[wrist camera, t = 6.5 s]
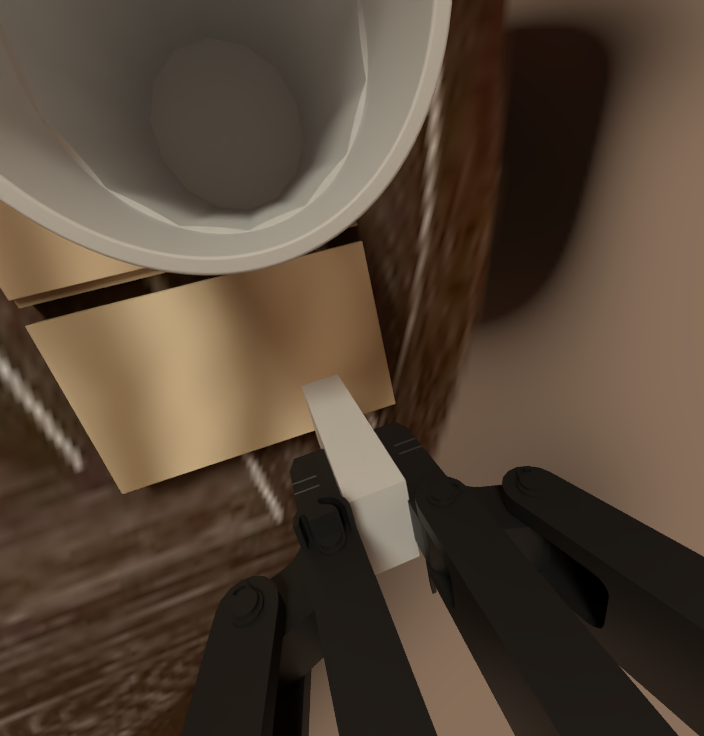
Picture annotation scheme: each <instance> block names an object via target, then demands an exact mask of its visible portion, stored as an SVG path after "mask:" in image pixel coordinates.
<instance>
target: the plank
mask: <svg viewBox="0 0 704 736" xmlns="http://www.w3.org/2000/svg"><path fill="white" fill-rule="evenodd" d="M25 327H26V329H27V330H28V332H29V334H30V335H31V337H32V339H33V341H34V342H35V344H36V346H37V348H38V349H39V351H40V353H41V354H42V356H43V358H44V360H45V361H46V363H47V365H48V367H49V368H50V370H51V372H52V373H53V375H54V377H55V379H56V380H57V382H58V384H59V386H60V387H61V389H62V391H63V392H64V394H65V396H66V398H67V399H68V401H69V403H70V404H71V406H72V408H73V410H74V411H75V413H76V415H77V417H78V418H79V420H80V422H81V423H82V425H83V427H84V429H85V430H86V432H87V434H88V436H89V437H90V439H91V441H92V442H93V444H94V446H95V448H96V449H97V451H98V453H99V455H100V456H101V458H102V460H103V461H104V463H105V465H106V467H107V468H108V470H109V472H110V474H111V475H112V477H113V479H114V480H115V482H116V484H117V486H118V487H119V489H120V491H121V492H122V494H124V493H127V492H130V491H133V490H136V489H139V488H142V487H145V486H148V485H151V484H154V483H157V482H160V481H163V480H166V479H169V478H172V477H175V476H178V475H181V474H184V473H188V472H191V471H194V470H197V469H200V468H203V467H206V466H209V465H212V464H215V463H218V462H221V461H224V460H227V459H230V458H233V457H236V456H239V455H242V454H245V453H248V452H251V451H254V450H257V449H260V448H263V447H266V446H269V445H272V444H275V443H278V442H281V441H284V440H287V439H290V438H293V437H296V436H299V435H302V434H305V433H308V432H311V431H315V429H314V425H313V422H312V419H311V416H310V412H309V409H308V406H307V402H306V399H305V396H304V393H303V389H302V385H305V384H308V383H312V382H315V381H318V380H321V379H324V378H327V377H330V376H333V375H337V374H338V376H339V377H340V379H341V380H342V382H343V384H344V385H345V387H346V388H347V390H348V391H349V393H350V394H351V396H352V398H353V399H354V401H355V402H356V404H357V405H358V407H359V408H360V410H361V412H362V413H363V414H366V413H369V412H372V411H375V410H378V409H381V408H384V407H387V406H390V405H393V404H395V399H394V394H393V390H392V385H391V380H390V375H389V370H388V365H387V360H386V355H385V350H384V346H383V341H382V336H381V331H380V326H379V321H378V316H377V311H376V307H375V302H374V297H373V292H372V287H371V282H370V277H369V272H368V268H367V263H366V258H365V253H364V248H363V243H362V241H359V242H353V243H349V244H345V245H341V246H337V247H333V248H329V249H325V250H321V251H317V252H313V253H309V254H305V255H303V256H301V257H299V258H296V259H294V260H291V261H289V262H286V263H283V264H280V265H277V266H273V267H270V268H266V269H262V270H257V271H252V272H246V273H239V274H230V275H222V276H218V277H214V278H210V279H206V280H202V281H198V282H194V283H190V284H186V285H182V286H178V287H174V288H170V289H166V290H162V291H158V292H154V293H150V294H146V295H142V296H138V297H134V298H130V299H126V300H122V301H119V302H115V303H111V304H107V305H103V306H99V307H95V308H91V309H87V310H83V311H79V312H75V313H71V314H67V315H63V316H59V317H55V318H51V319H47V320H43V321H40V322H37V323H33V324H30V325H27V326H25Z"/></svg>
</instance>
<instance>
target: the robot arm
mask: <svg viewBox="0 0 704 736" xmlns="http://www.w3.org/2000/svg"><path fill="white" fill-rule="evenodd" d="M302 389H303V393H304V396H305V399H306V402H307V406H308V409H309V412H310V416H311V419H312V422H313V425H314V429H315V432H316V435H317V438H318V442H319V444H320V447H321V450H318V451H315V452H313V453H310V454H307V455H304V456H301V457H298V458H296V459H294V461H293V464H292V467H291V470H290V475H291V479H292V484H293V489H294V494H295V499H296V504H297V509H298V511H297V513H296V514H295V516H294V523H293V528H294V530H295V533H296V535H297V538H298V541H299V543H300V546H301V548H300V550H299V552H298V554H297V556H296V557H295V558H294V560H293V561H292V562H291V563H290V564H289V565H288V566H287V567H286V568H285V569H283V570H282V571H281V572H279V573H278V574H277V575H276V576H274V577H273V578H272V579H268V578H267V577H265V576H252V577H249V578H247V579H244V580H241V581H240V582H239V583H237V584H236V585H235V586H233V587H232V588H231V589H230V590H229V591H228V592H227V593H226V595H225V596H224V597H223V598H222V600H221V602H220V604H219V606H218V608H217V611H216V613H215V616H214V620H213V623H212V627H211V630H210V634H209V638H208V641H207V645H206V648H205V652H204V655H203V659H202V663H201V666H200V670H199V673H198V677H197V680H196V684H195V688H194V691H193V695H192V698H191V702H190V705H189V709H188V712H187V716H186V720H185V723H184V727H183V730H182V734H181V736H309V713H310V689H311V688H310V687H311V669H312V668H313V667H314V666H315V665H316V664H317V663H318V662H319V661H320V660H321V659H322V658H323V657H324V661H325V666H326V671H327V676H328V681H329V686H330V691H331V696H332V701H333V706H334V711H335V717H336V722H337V726H338V732H339V736H437V734H436V731H435V728H434V726H433V723H432V721H431V719H430V716H429V713H428V710H427V708H426V705H425V703H424V700H423V697H422V695H421V693H420V690H419V687H418V685H417V682H416V679H415V677H414V674H413V672H412V669H411V666H410V664H409V661H408V659H407V656H406V654H405V651H404V649H403V646H402V643H401V641H400V638H399V636H398V633H397V630H396V628H395V625H394V623H393V620H392V617H391V615H390V612H389V610H388V607H387V605H386V602H385V599H384V597H383V595H382V592H381V589H380V587H379V584H378V581H377V579H376V576H375V575H377V574H379V573H382V572H384V571H386V570H389V569H391V568H393V567H395V566H398V565H400V564H402V563H405V562H407V561H409V560H412V559H414V558H416V557H419V550H418V546H419V548H420V550H421V551H422V553H423V555H424V557H425V559H426V564H427V570H428V576H429V581H430V586H431V589H432V593H433V594H434V593H436V588H437V590H438V592H439V594H440V596H441V598H442V599H443V601H444V603H445V605H446V607H447V609H448V611H449V613H450V614H451V616H452V618H453V620H454V622H455V624H456V626H457V627H458V630H459V631H460V633H461V635H462V637H463V639H464V641H465V643H466V644H467V646H468V648H469V650H470V652H471V654H472V656H473V658H474V659H475V661H476V663H477V665H478V667H479V669H480V671H481V673H482V674H483V676H484V678H485V680H486V682H487V684H488V686H489V688H490V689H491V691H492V693H493V695H494V697H495V699H496V701H497V703H498V704H499V706H500V708H501V710H502V712H503V714H504V716H505V718H506V719H507V721H508V723H509V725H510V727H511V729H512V731H513V732H514V734H515V736H678V735H677V733H676V732H675V731H674V730H673V729H672V728H671V726H670V725H669V724H668V723H667V722H666V721H665V719H664V718H663V717H662V716H661V715H660V714H659V712H658V711H657V710H656V709H655V708H654V706H653V705H652V704H651V703H650V702H649V701H648V699H647V698H646V697H645V696H644V695H643V694H642V692H641V691H640V690H639V689H638V688H637V687H636V685H635V684H634V683H633V682H632V681H631V679H630V678H629V677H628V676H627V675H626V674H625V672H624V671H623V670H622V669H621V668H623V669H624V670H625V671H626V672H627V673H628V674H629V675H631V676H632V677H633V678H634V679H635V680H636V681H637V682H639V683H640V684H641V685H642V686H643V687H644V688H645V689H647V690H648V691H649V692H650V693H651V694H652V695H653V696H655V697H656V698H657V699H658V700H659V701H660V702H661V703H663V704H664V705H665V706H666V707H667V708H668V709H669V710H671V711H672V712H673V713H674V714H675V715H677V717H679V718H680V719H681V720H682V721H683V722H684V723H685V724H687V725H688V726H689V727H690V728H691V729H692V730H693V731H695V732H696V733H697V734H698V735H699V736H704V557H703V556H701V555H699V554H698V553H696V552H694V551H692V550H691V549H689V548H687V547H685V546H683V545H682V544H680V543H678V542H676V541H674V540H672V539H671V538H669V537H667V536H665V535H663V534H662V533H660V532H658V531H656V530H654V529H653V528H651V527H649V526H647V525H645V524H643V523H641V522H640V521H638V520H636V519H634V518H633V517H631V516H629V515H627V514H625V513H623V512H622V511H620V510H618V509H616V508H614V507H613V506H611V505H609V504H607V503H605V502H604V501H602V500H600V499H598V498H596V497H595V496H593V495H591V494H589V493H587V492H585V491H584V490H582V489H580V488H578V487H576V486H574V485H573V484H571V483H569V482H567V481H566V480H564V479H562V478H560V477H558V476H557V475H555V474H553V473H551V472H549V471H546V470H544V469H541V468H538V467H531V466H523V467H516V468H514V469H512V470H510V471H508V472H507V473H506V475H505V476H504V477H503V481H502V485H495V486H486V487H469V486H465V485H464V484H462V483H461V482H460V481H459V480H457V479H454V478H451V477H447V476H446V475H445V474H444V472H443V471H442V470H441V469H440V467H439V466H438V465H437V464H436V462H435V461H434V460H433V459H432V458H431V456H430V455H429V454H428V453H427V451H426V450H425V449H424V448H423V447H422V446H421V444H420V443H419V442H418V440H417V439H415V437H414V435H413V434H412V433H411V432H410V431H409V429H408V428H407V427H405V426H402V425H400V424H398V423H396V422H394V423H391V424H388V425H385V426H383V427H380V428H377V429H374V430H373V429H372V427H371V426H370V424H369V422H368V421H367V419H366V418H365V416H364V415H363V413H362V412H361V410H360V408H359V407H358V405H357V404H356V402H355V401H354V399H353V398H352V396H351V394H350V393H349V391H348V390H347V388H346V387H345V385H344V384H343V382H342V380H341V379H340V377H339V376H338V374H337V375H333V376H330V377H327V378H324V379H321V380H318V381H315V382H312V383H308V384H305V385H302ZM620 667H621V668H620Z"/></svg>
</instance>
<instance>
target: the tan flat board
mask: <svg viewBox="0 0 704 736" xmlns="http://www.w3.org/2000/svg"><path fill="white" fill-rule="evenodd" d="M353 226H357V220H356V221H355V222H354V223H353V224H352V225H351V226H349V227H353ZM349 227H348V228H349ZM161 273H165V272H164V271H158V270H153V269H148V268H144V267H140V266H136V265H132V264H129V263H125V262H122V261H119V260H116V259H113V258H110V257H107V256H104V255H101V254H99V253H96V252H93V251H91V250H89V249H86V248H84V247H82V246H79V245H77V244H75V243H73V242H71V241H69V240H67V239H65V238H62V237H60V236H58V235H57V234H55V233H53V232H51V231H49V230H47V229H45V228H44V227H42V226H40V225H38V224H37V223H35V222H33V221H32V220H30V219H28V218H27V217H25V216H23V215H22V214H20V213H19V212H17V211H16V210H14V209H13V208H11V207H10V206H8V205H7V204H5V203H4V202H2V201H1V200H0V287H1V289H2V291H3V292H4V294H5V295H6V297H7V298H8V300H14V301H15V303H16V304H17V306H18V308H22V307H27V306H31V305H35V304H39V303H43V302H47V301H51V300H55V299H59V298H63V297H67V296H72V295H76V294H80V293H84V292H88V291H92V290H96V289H100V288H104V287H108V286H112V285H116V284H121V283H125V282H129V281H133V280H137V279H141V278H145V277H149V276H153V275H157V274H161Z"/></svg>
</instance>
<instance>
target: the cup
mask: <svg viewBox="0 0 704 736" xmlns="http://www.w3.org/2000/svg"><path fill="white" fill-rule="evenodd" d="M451 7H452V0H0V200H1V201H2V202H4V203H5V204H7V205H8V206H10V207H11V208H13V209H14V210H16V211H17V212H19V213H20V214H22V215H23V216H25V217H27V218H28V219H30V220H32V221H33V222H35V223H37V224H38V225H40V226H42V227H44V228H45V229H47V230H49V231H51V232H53V233H55V234H57V235H58V236H60V237H62V238H65V239H67V240H69V241H71V242H73V243H75V244H77V245H79V246H82V247H84V248H86V249H89V250H91V251H93V252H96V253H99V254H101V255H104V256H107V257H110V258H113V259H116V260H119V261H122V262H125V263H129V264H132V265H136V266H140V267H144V268H148V269H153V270H158V271H164V272H170V273H178V274H188V275H230V274H239V273H246V272H252V271H257V270H262V269H266V268H270V267H273V266H277V265H280V264H283V263H286V262H289V261H291V260H294V259H296V258H299V257H301V256H303V255H305V254H307V253H309V252H311V251H313V250H315V249H317V248H319V247H321V246H322V245H324V244H326V243H327V242H329V241H330V240H332V239H333V238H335V237H336V236H338V235H339V234H340V233H342V232H343V231H344V230H346V229H347V228H348V227H349V226H351V225H352V224H353V223H354V222H355V221H356V220H358V219H359V218H360V217H361V216H362V215H363V214H364V213H365V212H366V211H367V210H368V209H369V208H370V207H371V206H372V205H373V204H374V202H375V201H376V200H377V199H378V198H379V197H380V196H381V194H382V193H383V192H384V191H385V189H386V188H387V187H388V186H389V184H390V183H391V181H392V180H393V178H394V177H395V176H396V174H397V173H398V171H399V170H400V168H401V166H402V165H403V163H404V161H405V160H406V158H407V156H408V154H409V153H410V151H411V149H412V147H413V145H414V143H415V141H416V139H417V137H418V135H419V133H420V130H421V128H422V126H423V123H424V121H425V118H426V116H427V113H428V111H429V108H430V105H431V102H432V99H433V96H434V93H435V90H436V86H437V83H438V79H439V76H440V72H441V67H442V63H443V58H444V54H445V49H446V43H447V37H448V31H449V24H450V15H451Z"/></svg>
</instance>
